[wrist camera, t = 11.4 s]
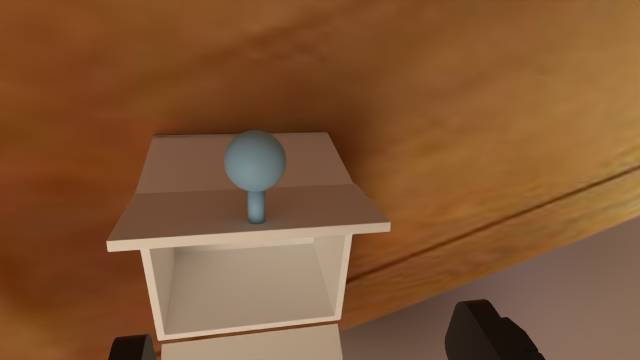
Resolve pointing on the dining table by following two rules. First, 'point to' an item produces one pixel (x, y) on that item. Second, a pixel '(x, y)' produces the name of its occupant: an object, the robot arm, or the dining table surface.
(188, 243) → the flap with blue knob
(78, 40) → the dining table surface
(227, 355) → the flap open
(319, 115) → the dining table surface
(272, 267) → the carton
